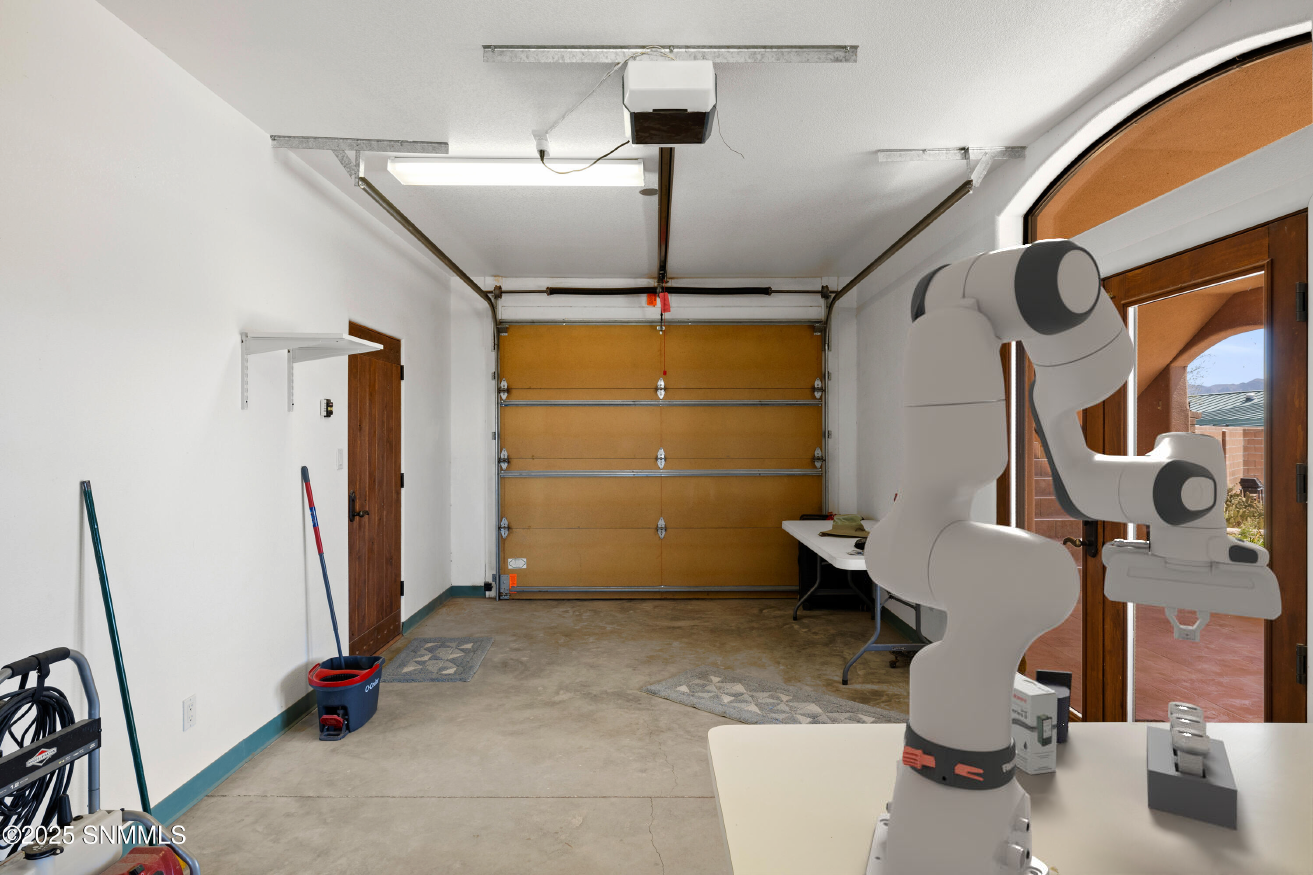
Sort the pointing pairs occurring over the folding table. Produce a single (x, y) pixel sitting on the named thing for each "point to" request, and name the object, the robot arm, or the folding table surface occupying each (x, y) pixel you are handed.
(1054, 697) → the ink box
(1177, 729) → the near knob
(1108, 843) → the folding table surface
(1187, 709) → the far knob
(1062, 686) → the speaker
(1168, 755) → the control panel
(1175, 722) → the middle knob
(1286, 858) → the folding table surface
